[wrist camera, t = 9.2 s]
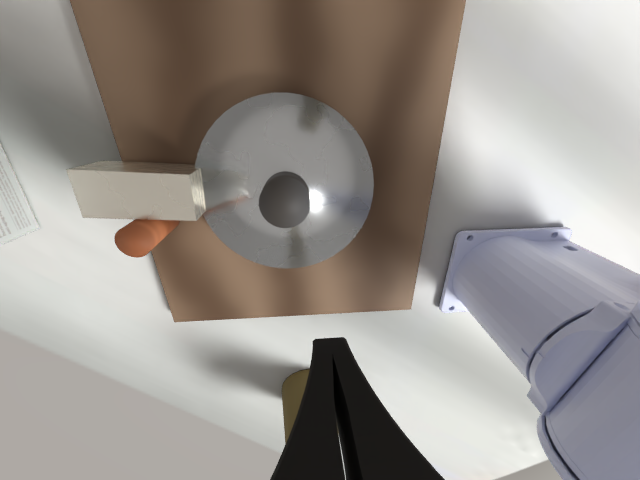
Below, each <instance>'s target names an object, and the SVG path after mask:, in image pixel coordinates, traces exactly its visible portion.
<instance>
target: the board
mask: <svg viewBox="0 0 640 480" xmlns="http://www.w3.org/2000/svg"><path fill="white" fill-rule="evenodd" d="M70 2H71V6H72V9H73V12H74V15H75V18H76V21H77V24H78V27H79V30H80V33H81V36H82V39H83V42H84V46H85V49H86V52H87V55H88V58H89V61H90V64H91V67H92V70H93V73H94V76H95V79H96V82H97V86H98V89H99V92H100V95H101V98H102V101H103V104H104V107H105V110H106V113H107V116H108V119H109V122H110V126H111V129H112V132H113V135H114V138H115V141H116V144H117V147H118V150H119V153H120V156H121V159H122V161H125V162H147V163H169V164H191V165H195V163H196V159H197V154H198V151H199V148H200V146H201V143H202V141H203V139H204V137H205V135H206V133H207V132H208V130H209V129H210V128H211V126H212V125H213V124H214V122H215V121H216V120H217V119H218V118H219V117H220V116H221V115H222V114H223V113H224V112H226V111H227V110H228V109H230V108H231V107H233V106H234V105H236V104H238V103H240V102H242V101H244V100H246V99H248V98H251V97H254V96H257V95H261V94H268V93H294V94H300V95H304V96H307V97H311V98H314V99H316V100H318V101H320V102H322V103H325V104H326V105H328V106H330V107H331V108H333V109H334V110H336V111H337V112H338V113H339V114H341V115H342V116H343V117H344V118H345V119H346V120H347V121H348V122H349V123H350V124H351V125H352V126H353V128H354V129H355V130H356V131H357V133H358V134H359V136H360V137H361V139H362V141H363V143H364V145H365V147H366V149H367V151H368V154H369V157H370V160H371V164H372V170H373V179H374V189H373V198H372V203H371V207H370V210H369V213H368V216H367V218H366V220H365V222H364V224H363V226H362V228H361V229H360V231H359V232H358V234H357V235H356V236H355V237H354V239H353V240H352V241H351V242H350V243H349V244H348V245H347V246H346V247H345V248H343V249H342V250H341V251H340V252H338V253H337V254H335V255H334V256H332V257H330V258H328V259H326V260H324V261H322V262H319V263H317V264H314V265H310V266H306V267H300V268H275V267H269V266H265V265H261V264H258V263H255V262H253V261H250V260H248V259H246V258H244V257H242V256H241V255H239V254H237V253H236V252H234V251H233V250H231V249H230V248H229V247H228V246H226V245H225V244H224V243H223V242H222V241H221V240H220V239H219V238H218V237H217V235H216V234H215V233H214V232H213V231H212V229H211V228H210V226H209V225H208V223H207V222H206V220H205V218H204V216H203V214H202V216H201V217H200V218H199V219H198V220H197V221H183V220H147V219H135V220H134V221H132V222H131V223H129V224H128V225H126V226H125V227H123V228H122V229H120V230H119V231H118V232H117V233H116V234H115V243H116V246H117V247H118V248H119V250H120V251H122V252H123V253H124V254H126V255H128V256H131V257H142V256H145V255H146V254H148V253H149V252H150V251H151V252H152V255H153V258H154V261H155V264H156V267H157V270H158V273H159V276H160V279H161V282H162V285H163V289H164V292H165V295H166V298H167V301H168V304H169V307H170V310H171V313H172V316H173V319H174V322H186V321H204V320H222V319H241V318H259V317H278V316H296V315H315V314H333V313H352V312H370V311H389V310H407V309H411V306H412V300H413V294H414V289H415V283H416V277H417V272H418V266H419V261H420V255H421V249H422V244H423V238H424V233H425V227H426V221H427V216H428V210H429V205H430V199H431V193H432V188H433V182H434V176H435V171H436V165H437V160H438V154H439V148H440V143H441V137H442V132H443V126H444V120H445V115H446V109H447V104H448V98H449V92H450V87H451V81H452V75H453V70H454V64H455V59H456V53H457V47H458V42H459V36H460V31H461V25H462V19H463V14H464V8H465V2H466V0H70ZM259 209H260V212H261V214H262V216H263V217H264V218H265V220H266V221H267V222H269V223H270V224H272V225H273V226H276V227H279V228H292V227H295V226H297V225H299V224H300V223H302V222H303V221H304V220H305V219H306V217H307V216H308V214H309V211H310V196H309V189H308V186H307V184H306V182H305V181H304V180H303V178H301V177H300V176H299V175H297V174H295V173H293V172H288V171H283V172H278V173H276V174H274V175H272V176H271V177H270V178H269V179H268V180H267V182H266V183H265V185H264V187H263V189H262V192H261V194H260V197H259Z"/></svg>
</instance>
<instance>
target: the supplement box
mask: <svg viewBox="0 0 640 480" xmlns="http://www.w3.org/2000/svg"><path fill="white" fill-rule="evenodd" d="M38 229H39V225H38V222H37V220H36V218H35V216H34V213H33V211H32V209H31V207H30V205H29V203H28V201H27V199H26V196H25V194H24V192H23V190H22V188H21V186H20V184H19V181H18V179H17V177H16V175H15V172H14V170H13V168H12V166H11V164H10V162H9V160H8V158H7V156H6V153H5V151H4V149H3V147H2V145H1V143H0V246H1V245H3V244H6V243H8V242H10V241H12V240H15V239H17V238H19V237H21V236H23V235H26V234H28V233H30V232H32V231H35V230H38Z"/></svg>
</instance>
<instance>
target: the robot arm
mask: <svg viewBox="0 0 640 480" xmlns="http://www.w3.org/2000/svg"><path fill="white" fill-rule="evenodd" d="M552 233H553V234H552ZM469 235H471V236H470V238H468V239H467V237H468V236H469ZM571 235H572V230H571V229H570V228H567V227H551V228H525V229H498V230H471V231H460V232H459V233H458V234H457V235H456V237H455V241H454V246H453V250H452V254H451V258H450V263H449V267H448V271H447V275H446V280H445V284H444V288H443V292H442V296H441V301H440V305H439V309H440V310H441V311H442V312H444V313H447V312H465V311H469V312H470V313H471V314H472V316H473V317H474V318H475V319H476V320H477V321H478V323H479V324H480V325H481V326H482V327H483V328H484V330H485V331H486V332H487V333H488V334H489V336H490V337H491V338H492V339H493V340H494V341H495V343H496V344H497V345H498V346H499V347H500V349H501V350H502V351H503V352H504V353H505V354H506V356H507V357H508V358H509V359H510V360H511V361H512V363H513V364H514V365H515V366H516V367H517V369H518V370H519V371H520V372H521V373H522V374H523V376H524V377H525V378H526V379H527V380H528V382H529V383H530V384H531V388H530V391H529V392H528V394H527V397H528V398H529V399H530V400H531V402H532V403H533V404H534V405H535V407H536V408H537V409H538V410H539V412H540V413H541V414H540V416H539V418H538V420H537V433H538V437H539V440H540V443H541V445H542V447H543V449H544V452H545V454H546V455H547V457H548V459H549V460H550V462H551V464H552V465H553V467H554V468H555V470H556V471H557V472H558V474H559V475H560V477H561V478H562V479H563V480H640V275H639V274H637V273H635V272H633V271H631V270H629V269H627V268H625V267H623V266H621V265H619V264H616V263H614V262H612V261H610V260H608V259H606V258H604V257H602V256H600V255H598V254H596V253H593V252H591V251H589V250H587V249H585V248H583V247H581V246H579V245H577V244H575V243H572V242H570V241H569V239H570V237H571ZM451 306H452V307H451ZM449 307H450V308H449ZM337 427H338V429H337ZM338 433H339V436H338ZM339 438H340V443H341V449H342V454H343V460H344V466H345V473H346V480H445V479H444V478H443V477H442V476H441V475H440V474H439V473H438V472H437V471H436V470H435V469H434V468H433V466H432V465H431V464H430V463H429V462H428V461H427V460H426V458H425V457H424V456H423V455H422V454H421V453H420V452H419V450H418V449H417V448H416V447H415V446H414V445H413V444H412V442H411V441H410V440H409V439H408V437H407V436H406V435H405V434H404V432H403V431H402V430H401V429H400V427H399V426H398V425H397V423H396V422H395V421H394V420H393V418H392V417H391V416H390V414H389V413H388V411H387V410H386V409H385V407H384V406H383V404H382V403H381V401H380V400H379V398H378V397H377V395H376V394H375V392H374V391H373V389H372V388H371V386H370V384H369V383H368V381H367V379H366V378H365V376H364V374H363V373H362V371H361V369H360V367H359V366H358V364H357V362H356V360H355V358H354V356H353V354H352V352H351V350H350V348H349V345H348V343H347V341H346V339H345V338H344V337H340V338H324V339H315V340H314V341H313V352H312V360H311V365H310V370H309V375H308V379H307V383H306V387H305V390H304V394H303V397H302V400H301V404H300V407H299V410H298V413H297V416H296V419H295V422H294V424H293V427H292V430H291V432H290V435H289V438H288V440H287V442H286V445H285V447H284V450H283V452H282V455H281V457H280V459H279V462H278V464H277V466H276V469H275V471H274V473H273V475H272V477H271V479H270V480H345V475H344V469H343V463H342V456H341V449H340V443H339Z"/></svg>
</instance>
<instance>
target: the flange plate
mask: <svg viewBox="0 0 640 480" xmlns="http://www.w3.org/2000/svg"><path fill="white" fill-rule="evenodd" d="M66 171H67V174H68V176H69V179H70V182H71V185H72V188H73V191H74V194H75V196H76V199H77V202H78V205H79V208H80V211H81V214H82V216H83V218H111V219H147V220H183V221H197V220H198V219H199V218H200V217H201V216H202V214H203V216H204V218H205V220H206V222H207V223H208V225H209V226H210V228H211V229H212V231H213V232H214V233H215V234H216V235H217V237H218V238H219V239H220V240H221V241H222V242H223V243H224V244H225V245H226V246H228V247H229V248H230V249H231V250H233V251H234V252H236V253H237V254H239V255H241V256H242V257H244V258H246V259H248V260H250V261H253V262H255V263H258V264H261V265H265V266H269V267H275V268H300V267H306V266H310V265H314V264H317V263H319V262H322V261H324V260H326V259H328V258H330V257H332V256H334V255H335V254H337V253H338V252H340V251H341V250H342V249H343V248H345V247H346V246H347V245H348V244H349V243H350V242H351V241H352V240H353V239H354V237H355V236H356V235H357V234H358V232H359V231H360V229H361V228H362V226H363V224H364V222H365V220H366V218H367V216H368V213H369V210H370V207H371V203H372V198H373V189H374V179H373V170H372V164H371V160H370V157H369V154H368V151H367V149H366V147H365V145H364V143H363V141H362V139H361V137H360V136H359V134H358V133H357V131H356V130H355V129H354V128H353V126H352V125H351V124H350V123H349V122H348V121H347V120H346V119H345V118H344V117H343V116H342V115H341V114H339V113H338V112H337V111H336V110H334V109H333V108H331V107H330V106H328V105H326V104H325V103H322V102H320V101H318V100H316V99H314V98H311V97H307V96H304V95H300V94H294V93H268V94H261V95H257V96H254V97H251V98H248V99H246V100H244V101H242V102H240V103H238V104H236V105H234V106H233V107H231V108H230V109H228V110H227V111H226V112H224V113H223V114H222V115H221V116H220V117H219V118H218V119H217V120H216V121H215V122H214V124H213V125H212V126H211V128H210V129H209V130H208V132H207V133H206V135H205V137H204V139H203V141H202V143H201V146H200V148H199V151H198V154H197V159H196V163H195V165H191V164H169V163H147V162H125V161H99V162H95V163H91V164H87V165H83V166H79V167H75V168H70V169H66ZM283 171H288V172H293V173H295V174H297V175H299V176H300V177H301V178H303V180H304V181H305V182H306V184H307V186H308V189H309V196H310V211H309V214H308V216H307V217H306V219H305V220H304V221H303V222H302V223H300V224H299V225H297V226H295V227H292V228H279V227H276V226H273V225H272V224H270V223H269V222H267V221H266V220H265V218H264V217H263V216H262V214H261V212H260V209H259V197H260V194H261V192H262V189H263V187H264V185H265V183H266V182H267V180H268V179H269V178H270V177H271V176H272V175H274V174H276V173H278V172H283Z"/></svg>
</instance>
